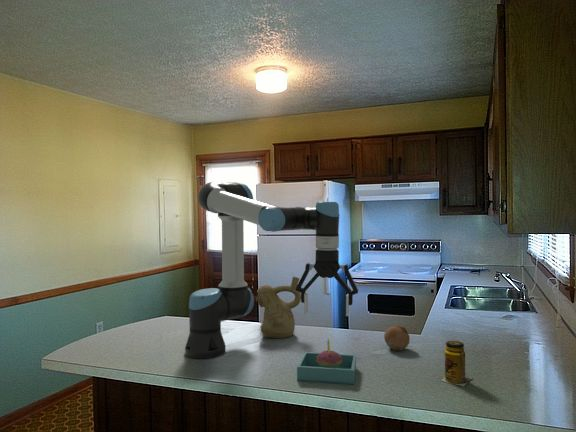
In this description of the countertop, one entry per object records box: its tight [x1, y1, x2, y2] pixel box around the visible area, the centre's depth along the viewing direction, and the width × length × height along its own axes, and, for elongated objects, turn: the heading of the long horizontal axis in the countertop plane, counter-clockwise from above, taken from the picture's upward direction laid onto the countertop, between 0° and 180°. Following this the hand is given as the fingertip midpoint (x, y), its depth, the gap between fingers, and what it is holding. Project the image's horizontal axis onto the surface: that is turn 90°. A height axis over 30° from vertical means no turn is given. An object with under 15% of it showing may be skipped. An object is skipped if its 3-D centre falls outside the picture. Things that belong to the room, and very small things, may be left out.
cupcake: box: [316, 338, 342, 368], centre depth 147 cm, size 9×8×12 cm
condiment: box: [439, 340, 473, 387], centre depth 142 cm, size 7×8×12 cm
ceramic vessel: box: [255, 276, 301, 339], centre depth 194 cm, size 17×20×25 cm
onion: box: [383, 325, 411, 352], centre depth 173 cm, size 10×9×10 cm
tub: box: [296, 351, 357, 386], centre depth 148 cm, size 18×15×4 cm
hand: (326, 313), depth 147 cm, fingers open, 13 cm apart
